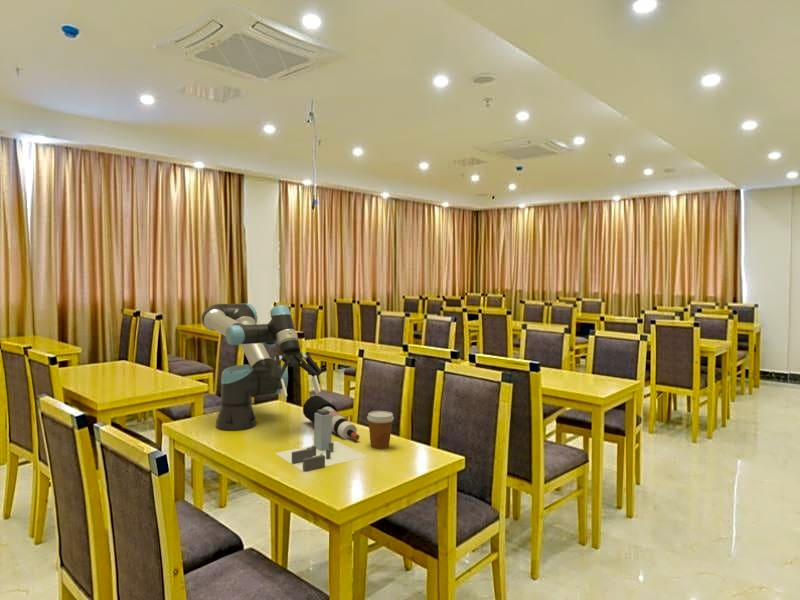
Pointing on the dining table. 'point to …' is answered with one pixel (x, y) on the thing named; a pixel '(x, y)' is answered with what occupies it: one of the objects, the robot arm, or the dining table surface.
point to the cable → (338, 421)
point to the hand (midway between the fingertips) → (302, 395)
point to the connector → (322, 429)
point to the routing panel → (319, 456)
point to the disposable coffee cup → (380, 428)
